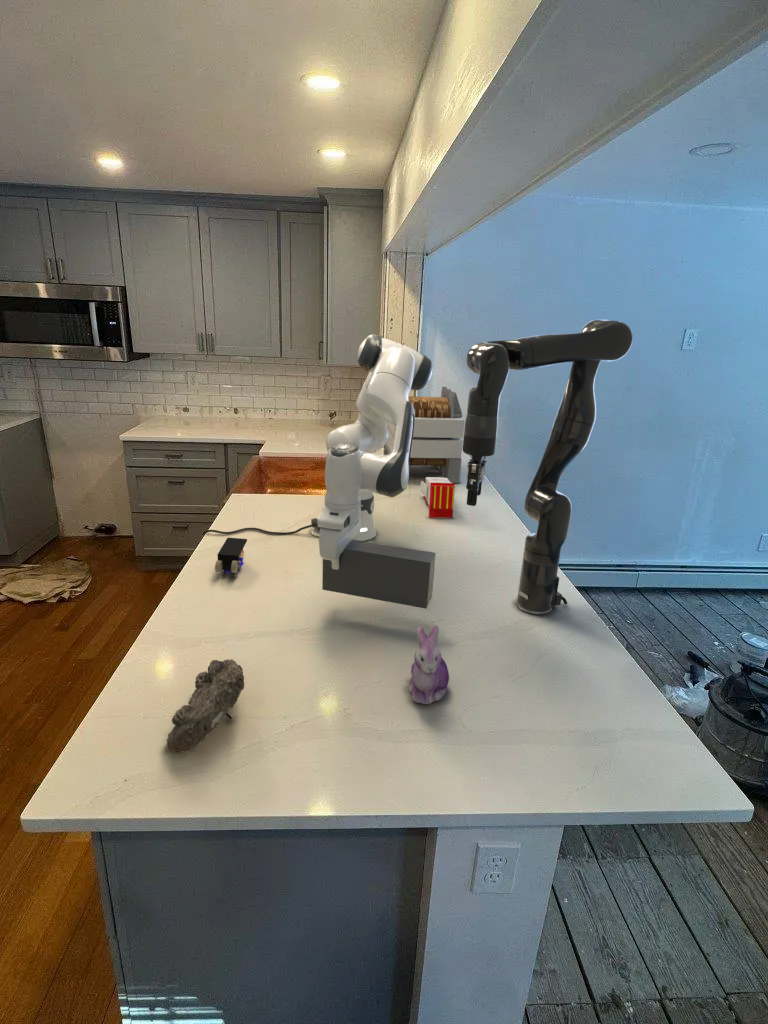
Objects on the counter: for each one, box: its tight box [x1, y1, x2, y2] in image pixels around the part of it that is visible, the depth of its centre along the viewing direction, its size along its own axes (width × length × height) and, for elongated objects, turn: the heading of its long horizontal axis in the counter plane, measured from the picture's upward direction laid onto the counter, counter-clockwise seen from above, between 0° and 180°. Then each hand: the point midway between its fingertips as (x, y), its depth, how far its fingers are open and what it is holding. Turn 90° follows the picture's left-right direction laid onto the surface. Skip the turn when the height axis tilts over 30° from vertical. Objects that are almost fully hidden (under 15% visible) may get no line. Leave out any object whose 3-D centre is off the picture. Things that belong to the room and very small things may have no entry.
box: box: [321, 540, 437, 610], centre depth 141 cm, size 27×6×12 cm, turn 74°
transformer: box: [383, 386, 466, 484], centre depth 268 cm, size 34×33×41 cm
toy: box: [419, 476, 456, 519], centre depth 228 cm, size 12×13×30 cm
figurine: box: [408, 624, 450, 705], centre depth 115 cm, size 9×10×15 cm
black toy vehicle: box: [214, 537, 248, 578], centre depth 166 cm, size 7×8×15 cm
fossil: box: [166, 658, 245, 754], centre depth 106 cm, size 22×10×15 cm
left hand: (341, 562), depth 143 cm, fingers closed on box, 6 cm apart
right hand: (473, 499), depth 136 cm, fingers open, 8 cm apart
